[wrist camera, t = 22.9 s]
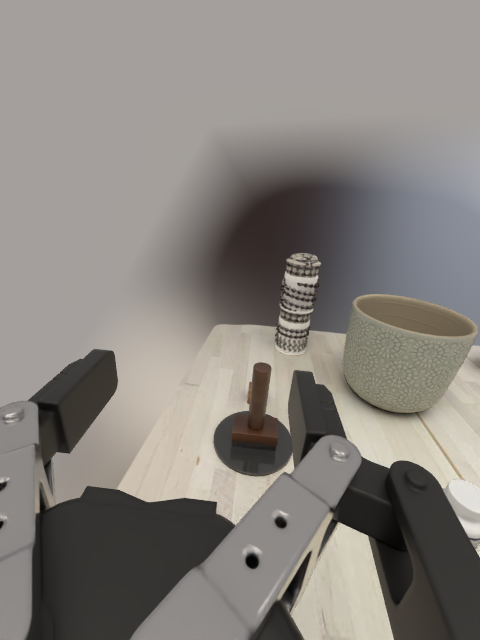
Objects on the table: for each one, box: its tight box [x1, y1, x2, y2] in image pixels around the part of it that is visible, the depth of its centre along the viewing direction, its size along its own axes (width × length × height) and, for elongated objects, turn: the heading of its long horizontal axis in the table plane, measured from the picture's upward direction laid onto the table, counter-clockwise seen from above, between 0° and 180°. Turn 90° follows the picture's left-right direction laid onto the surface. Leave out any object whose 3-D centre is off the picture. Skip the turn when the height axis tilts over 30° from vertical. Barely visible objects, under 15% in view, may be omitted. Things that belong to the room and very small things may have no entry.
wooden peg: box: [232, 363, 279, 451], centre depth 44 cm, size 4×7×14 cm, turn 85°
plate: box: [214, 411, 292, 476], centre depth 47 cm, size 13×13×1 cm
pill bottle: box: [443, 479, 480, 549], centre depth 33 cm, size 5×5×9 cm
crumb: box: [248, 382, 252, 404], centre depth 57 cm, size 3×3×3 cm
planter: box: [343, 294, 478, 413], centre depth 58 cm, size 21×21×19 cm
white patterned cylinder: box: [274, 253, 321, 355], centre depth 73 cm, size 9×9×25 cm
